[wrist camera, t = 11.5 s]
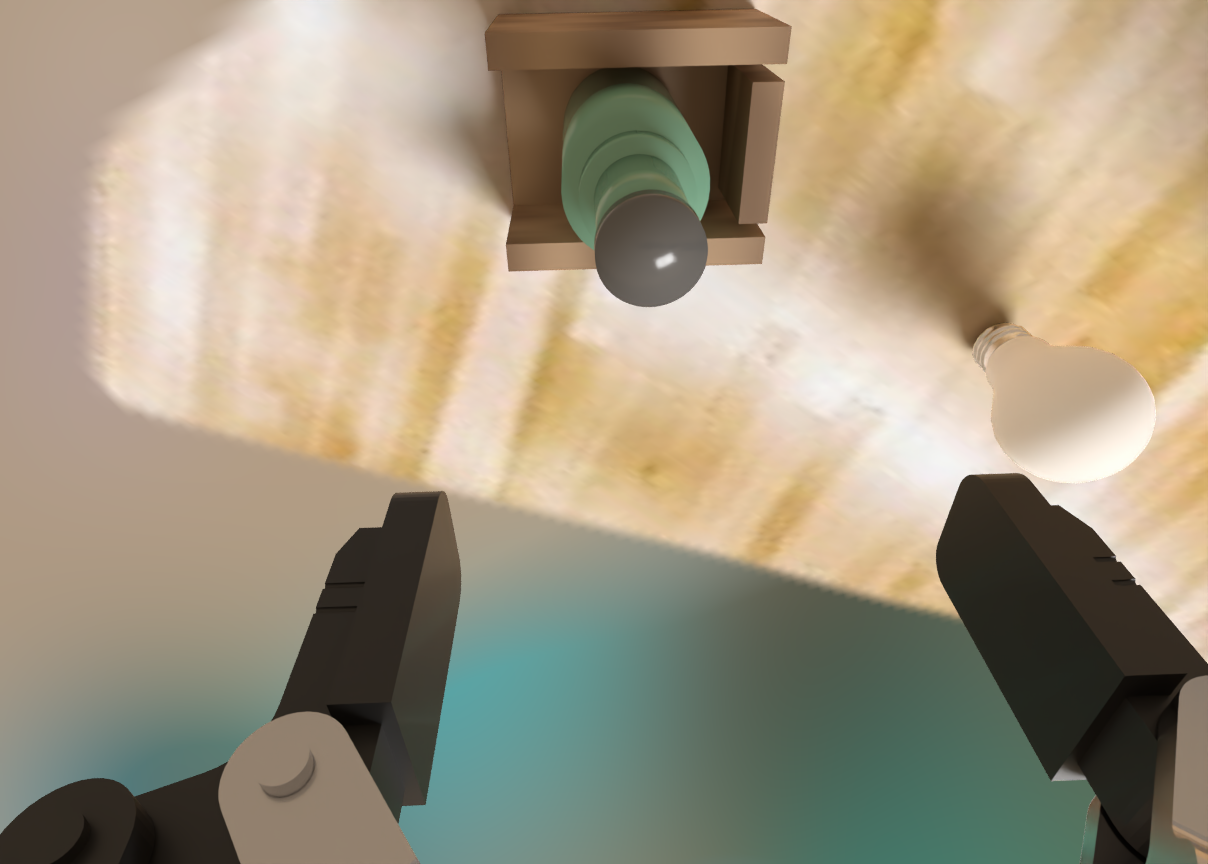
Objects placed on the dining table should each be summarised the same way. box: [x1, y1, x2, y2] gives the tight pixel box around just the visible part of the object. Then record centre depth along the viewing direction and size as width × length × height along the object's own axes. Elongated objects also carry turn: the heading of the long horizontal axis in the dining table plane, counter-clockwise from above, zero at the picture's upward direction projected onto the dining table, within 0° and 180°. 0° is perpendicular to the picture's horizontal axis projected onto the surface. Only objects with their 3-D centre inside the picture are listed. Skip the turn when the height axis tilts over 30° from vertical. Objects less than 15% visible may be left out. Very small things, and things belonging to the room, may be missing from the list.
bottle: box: [561, 67, 710, 307], centre depth 26 cm, size 5×5×15 cm
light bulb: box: [972, 323, 1156, 483], centre depth 36 cm, size 7×7×11 cm
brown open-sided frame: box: [485, 9, 792, 271], centre depth 30 cm, size 11×9×6 cm
